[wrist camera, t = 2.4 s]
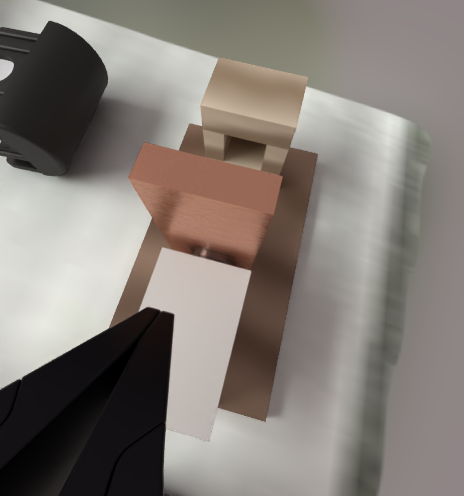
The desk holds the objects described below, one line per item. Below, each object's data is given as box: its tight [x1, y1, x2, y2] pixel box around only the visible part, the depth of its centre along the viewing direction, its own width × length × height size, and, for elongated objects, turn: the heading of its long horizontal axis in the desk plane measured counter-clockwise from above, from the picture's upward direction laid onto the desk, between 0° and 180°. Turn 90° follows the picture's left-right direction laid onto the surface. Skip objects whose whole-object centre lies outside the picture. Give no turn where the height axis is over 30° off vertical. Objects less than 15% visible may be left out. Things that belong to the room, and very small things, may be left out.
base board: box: [109, 124, 318, 422], centre depth 21 cm, size 22×12×1 cm, turn 165°
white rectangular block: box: [139, 247, 251, 441], centre depth 16 cm, size 8×5×6 cm, turn 165°
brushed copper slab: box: [128, 142, 283, 270], centre depth 13 cm, size 13×5×10 cm, turn 165°
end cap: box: [0, 21, 108, 176], centre depth 22 cm, size 10×7×7 cm
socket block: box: [200, 58, 308, 175], centre depth 20 cm, size 4×6×7 cm
